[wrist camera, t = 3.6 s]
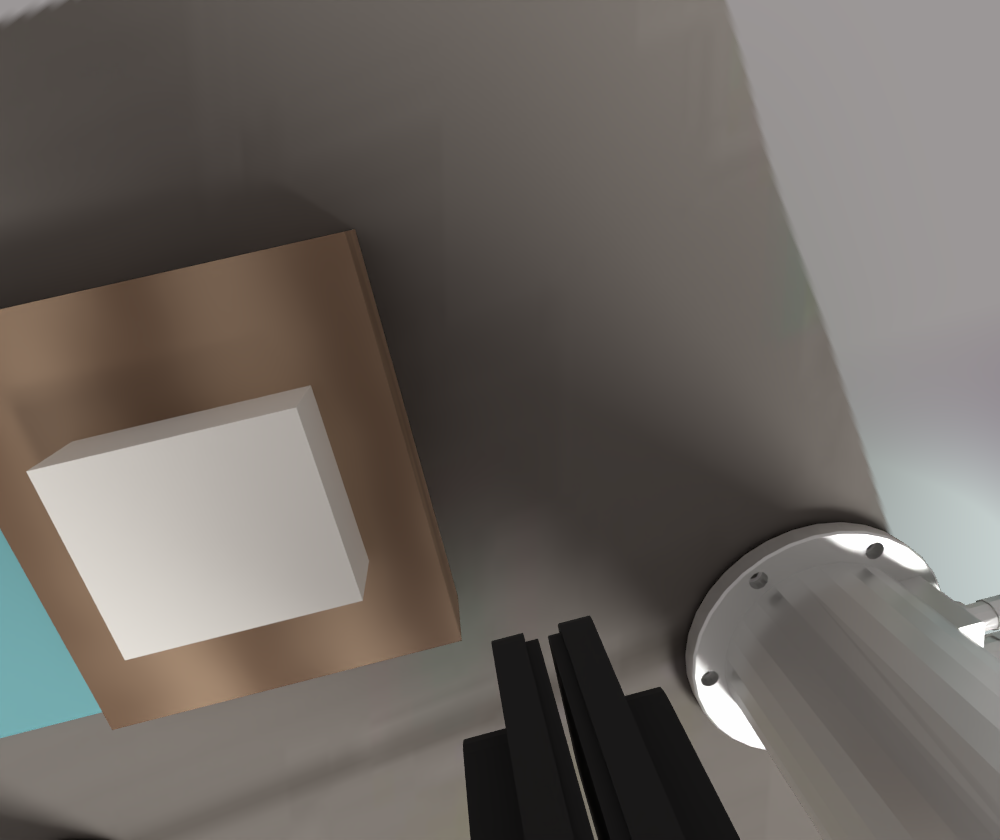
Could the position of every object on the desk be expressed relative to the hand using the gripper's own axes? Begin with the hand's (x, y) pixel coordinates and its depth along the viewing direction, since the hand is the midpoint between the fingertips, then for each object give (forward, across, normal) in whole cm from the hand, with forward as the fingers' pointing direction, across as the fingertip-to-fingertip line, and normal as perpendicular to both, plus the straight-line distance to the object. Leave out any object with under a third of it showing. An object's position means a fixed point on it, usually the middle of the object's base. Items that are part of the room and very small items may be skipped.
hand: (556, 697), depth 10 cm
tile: (+13, +9, 0) cm, 16 cm away
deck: (+16, +10, 0) cm, 18 cm away
